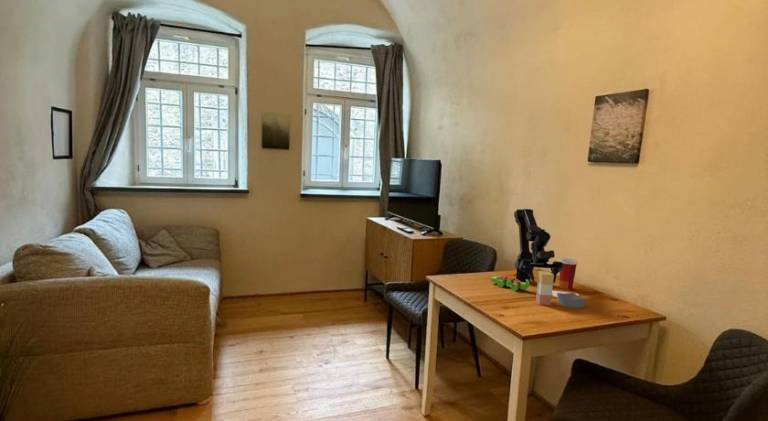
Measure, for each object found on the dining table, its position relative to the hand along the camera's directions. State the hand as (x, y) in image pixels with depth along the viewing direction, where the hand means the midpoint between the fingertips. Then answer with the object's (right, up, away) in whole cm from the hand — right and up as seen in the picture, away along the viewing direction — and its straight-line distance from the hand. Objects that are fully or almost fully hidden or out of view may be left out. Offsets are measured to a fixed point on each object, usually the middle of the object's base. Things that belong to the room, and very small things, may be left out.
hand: (544, 282), depth 188 cm
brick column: (0, -9, 0) cm, 9 cm away
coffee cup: (+20, -7, +23) cm, 31 cm away
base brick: (+12, -10, 0) cm, 16 cm away
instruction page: (+15, -8, +12) cm, 21 cm away
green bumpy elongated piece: (-10, -6, +20) cm, 23 cm away
